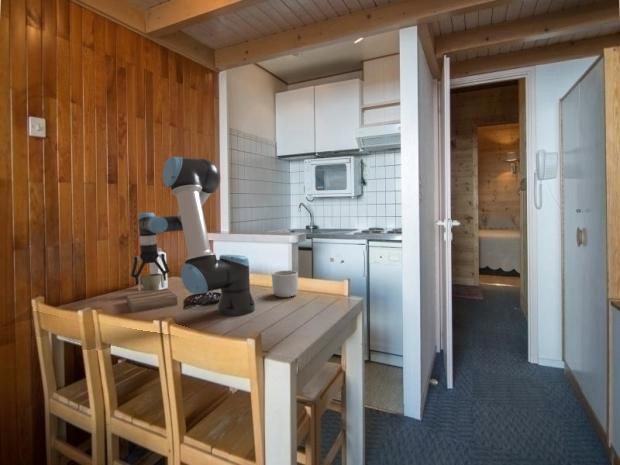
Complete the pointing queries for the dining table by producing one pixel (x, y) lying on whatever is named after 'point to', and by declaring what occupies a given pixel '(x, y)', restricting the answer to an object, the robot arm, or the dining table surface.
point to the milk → (156, 270)
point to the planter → (285, 283)
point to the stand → (151, 300)
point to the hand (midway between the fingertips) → (151, 288)
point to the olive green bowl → (150, 281)
